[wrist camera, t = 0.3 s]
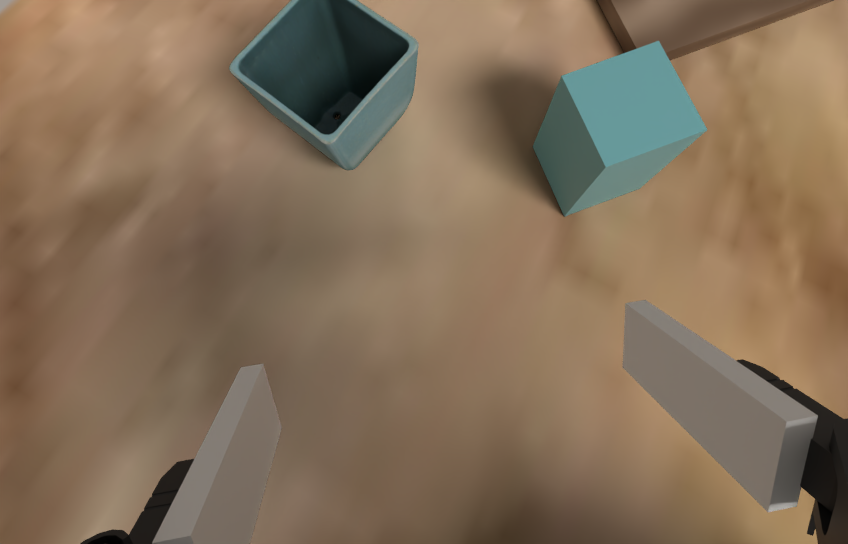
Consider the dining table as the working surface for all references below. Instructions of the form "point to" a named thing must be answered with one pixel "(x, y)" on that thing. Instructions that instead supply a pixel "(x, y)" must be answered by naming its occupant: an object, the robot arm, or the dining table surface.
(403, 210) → the dining table surface
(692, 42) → the base board
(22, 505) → the dining table surface
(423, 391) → the dining table surface
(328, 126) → the flower pot
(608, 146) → the teal rectangular block
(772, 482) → the robot arm
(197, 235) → the dining table surface
